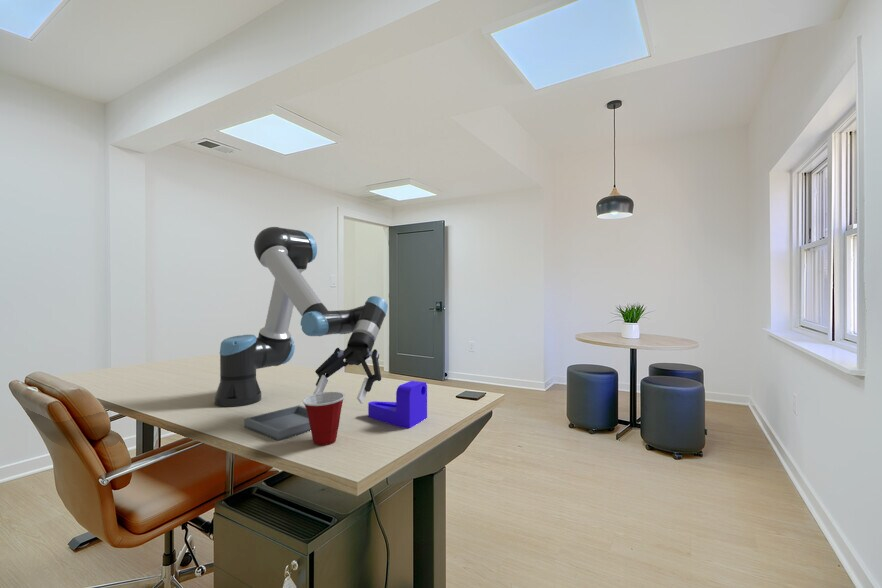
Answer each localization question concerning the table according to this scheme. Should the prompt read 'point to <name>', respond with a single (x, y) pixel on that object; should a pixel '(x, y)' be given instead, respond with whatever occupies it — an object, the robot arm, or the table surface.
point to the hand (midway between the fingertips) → (337, 399)
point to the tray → (280, 423)
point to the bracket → (402, 406)
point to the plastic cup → (324, 416)
